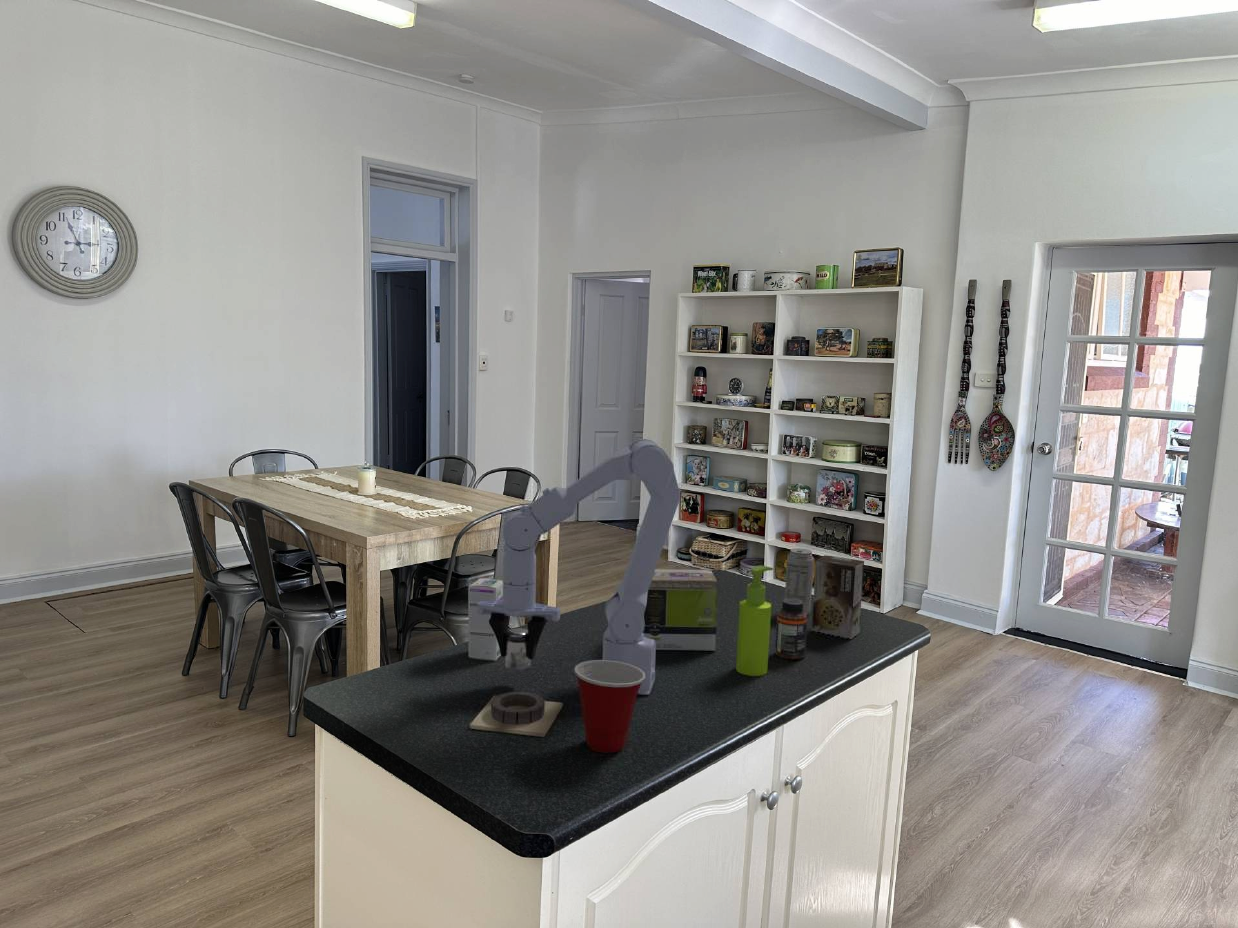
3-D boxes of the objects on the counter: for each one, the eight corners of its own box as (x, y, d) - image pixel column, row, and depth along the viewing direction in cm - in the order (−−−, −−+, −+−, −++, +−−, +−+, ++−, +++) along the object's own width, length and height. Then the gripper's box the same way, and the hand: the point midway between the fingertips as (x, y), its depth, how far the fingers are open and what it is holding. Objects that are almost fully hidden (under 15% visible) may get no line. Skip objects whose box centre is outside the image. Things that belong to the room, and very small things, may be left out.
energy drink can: (814, 614, 205) (819, 551, 203) (801, 619, 200) (806, 555, 198) (792, 608, 209) (796, 546, 207) (778, 613, 204) (782, 550, 202)
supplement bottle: (782, 648, 181) (785, 594, 179) (809, 654, 177) (813, 600, 176) (769, 656, 176) (773, 601, 174) (797, 663, 172) (801, 607, 171)
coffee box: (860, 632, 193) (865, 560, 191) (851, 640, 187) (856, 566, 185) (820, 624, 198) (825, 553, 195) (810, 631, 192) (814, 559, 190)
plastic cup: (656, 750, 133) (660, 674, 131) (595, 767, 127) (598, 687, 125) (617, 723, 142) (620, 652, 140) (559, 737, 136) (561, 663, 134)
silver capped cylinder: (533, 661, 158) (534, 629, 157) (526, 670, 153) (527, 637, 153) (509, 659, 158) (509, 627, 158) (501, 668, 154) (502, 635, 153)
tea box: (709, 636, 187) (712, 568, 185) (715, 652, 177) (719, 581, 175) (638, 634, 186) (641, 566, 184) (641, 650, 176) (644, 578, 174)
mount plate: (562, 706, 148) (562, 691, 148) (543, 736, 136) (544, 720, 136) (493, 698, 150) (494, 684, 150) (469, 728, 138) (470, 712, 138)
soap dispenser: (776, 669, 169) (782, 567, 166) (755, 678, 164) (761, 573, 161) (750, 661, 172) (756, 561, 170) (729, 669, 167) (735, 567, 165)
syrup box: (496, 661, 167) (497, 587, 166) (466, 657, 169) (467, 584, 167) (506, 651, 173) (507, 579, 171) (477, 648, 174) (478, 576, 172)
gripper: (471, 583, 151) (471, 659, 153) (554, 590, 149) (552, 667, 151) (485, 573, 158) (484, 646, 160) (563, 580, 156) (562, 653, 157)
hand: (518, 656), depth 156 cm, fingers closed on silver capped cylinder, 4 cm apart
